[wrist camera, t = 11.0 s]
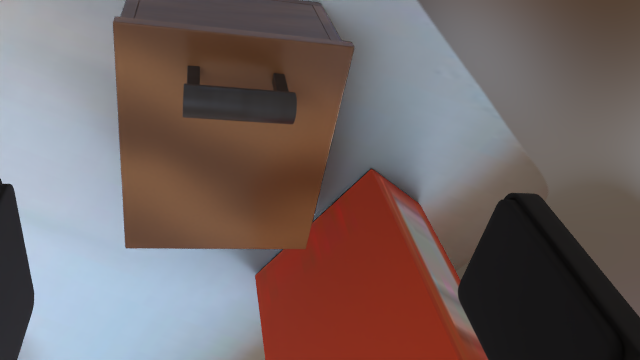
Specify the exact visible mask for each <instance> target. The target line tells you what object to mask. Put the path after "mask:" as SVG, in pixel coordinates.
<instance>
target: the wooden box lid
mask: <svg viewBox="0 0 640 360" xmlns="http://www.w3.org/2000/svg"><path fill="white" fill-rule="evenodd" d="M113 33H114V51H115V69H116V87H117V105H118V123H119V142H120V160H121V178H122V196H123V214H124V232H125V247H126V248H175V249H306V246H307V242H308V238H309V233H310V229H311V225H312V221H313V217H314V213H315V209H316V205H317V200H318V196H319V192H320V188H321V184H322V180H323V176H324V171H325V167H326V163H327V159H328V155H329V151H330V147H331V143H332V138H333V134H334V130H335V126H336V122H337V118H338V114H339V109H340V105H341V101H342V97H343V93H344V89H345V85H346V81H347V76H348V72H349V68H350V64H351V60H352V56H353V52H354V45H353V43H352V42H348V41H339V40H329V39H320V38H311V37H302V36H292V35H283V34H274V33H264V32H255V31H246V30H237V29H227V28H218V27H209V26H200V25H190V24H181V23H172V22H162V21H153V20H144V19H135V18H125V17H115V18H114V21H113Z"/></svg>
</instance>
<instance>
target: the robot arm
mask: <svg viewBox="0 0 640 360" xmlns="http://www.w3.org/2000/svg"><path fill="white" fill-rule="evenodd" d="M458 298H459V301H460V304H461V306H462V308H463V310H464V312H465V314H466V316H467V318H468V320H469V322H470V324H471V326H472V328H473V330H474V332H475V334H476V336H477V338H478V340H479V342H480V344H481V346H482V348H483V350H484V352H485V354H486V356H487V358H488V360H640V317H639V316H638V315H637V314H636V312H635V311H634V310H633V309H632V307H630V305H629V304H628V303H627V301H626V300H625V299H624V298H623V297H622V295H621V294H620V293H619V292H618V290H617V289H616V288H615V287H614V286H613V284H612V283H611V282H610V281H609V279H608V278H607V277H606V276H605V275H604V273H603V272H602V271H601V270H600V268H599V267H598V266H597V265H596V264H595V262H594V261H593V260H592V259H591V257H590V256H589V255H588V254H587V253H586V251H585V250H584V249H583V248H582V247H581V245H580V244H579V243H578V242H577V240H576V239H575V238H574V237H573V235H572V234H571V233H570V232H569V231H568V229H567V228H566V227H565V226H564V224H563V223H562V222H561V221H560V220H559V219H558V217H557V216H556V215H555V213H554V212H553V211H552V210H551V209H550V207H549V206H548V205H547V204H546V202H545V201H544V200H543V199H542V198H541V197H540V196H539V195H537V194H528V193H510V194H508V195H507V196H506V197H505V198H504V200H501V201H499V202H498V204H497V206H496V208H495V210H494V212H493V214H492V216H491V218H490V220H489V223H488V225H487V227H486V229H485V231H484V233H483V235H482V237H481V239H480V241H479V244H478V246H477V248H476V250H475V252H474V254H473V256H472V258H471V260H470V263H469V265H468V267H467V269H466V271H465V273H464V275H463V277H462V279H461V281H460V284H459V286H458ZM33 305H34V289H33V284H32V279H31V274H30V269H29V264H28V259H27V254H26V248H25V243H24V238H23V233H22V228H21V223H20V218H19V213H18V208H17V202H16V197H15V192H14V188H13V186H12V185H11V184H2V181H1V179H0V360H17V358H18V355H19V352H20V349H21V346H22V342H23V339H24V336H25V333H26V330H27V327H28V323H29V320H30V317H31V314H32V310H33Z"/></svg>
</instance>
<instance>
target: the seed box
mask: <svg viewBox="0 0 640 360" xmlns="http://www.w3.org/2000/svg"><path fill="white" fill-rule="evenodd" d="M120 17H125V18H135V19H144V20H153V21H162V22H172V23H181V24H190V25H200V26H209V27H218V28H227V29H237V30H246V31H255V32H264V33H274V34H283V35H292V36H302V37H311V38H320V39H329V40H339V41H342V40H341V39H340V37H339V35H338V33H337V31H336V30H335V28H334V26H333V24H332V22H331V21H330V19H329V17H328V15H327V14H326V12H325V10H324V8H323V7H322V5H321V3H317V2H309V1H301V0H126V2H125V5H124V8H123V10H122V13H121V16H120Z"/></svg>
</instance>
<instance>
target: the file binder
mask: <svg viewBox="0 0 640 360" xmlns="http://www.w3.org/2000/svg"><path fill="white" fill-rule="evenodd" d="M255 279H256V287H257V295H258V303H259V311H260V319H261V327H262V335H263V343H264V351H265V360H488V358H487V356H486V354H485V352H484V350H483V348H482V346H481V344H480V342H479V340H478V338H477V336H476V334H475V332H474V330H473V328H472V326H471V324H470V322H469V320H468V318H467V316H466V314H465V312H464V310H463V308H462V306H461V304H460V301H459V298H458V286H459V284H460V279H459V277H458V275H457V273H456V271H455V269H454V267H453V266H452V264H451V262H450V260H449V258H448V256H447V254H446V252H445V251H444V249H443V247H442V245H441V243H440V241H439V239H438V237H437V236H436V234H435V232H434V230H433V228H432V226H431V224H430V222H429V221H428V219H427V217H426V215H425V213H424V211H423V209H422V207H421V206H420V205H419V203H418V202H416V201H415V200H414V199H412V198H411V197H410V196H408V195H407V194H406V193H404V192H403V191H402V190H400V189H399V188H398V187H396V186H395V185H393V184H392V183H391V182H389V181H388V180H387V179H385V178H384V177H383V176H381V175H380V174H379V173H377V172H376V171H375V170H372V169H371V170H369V171H368V172H367V173H366V174H365V175H364V176H363V177H362V178H361V179H360V180H359V181H357V182H356V183H355V184H354V185H353V186H352V187H351V188H350V189H349V190H348V191H347V192H346V193H344V194H343V195H342V196H341V197H340V198H339V199H338V200H337V201H336V202H335V203H334V204H332V205H331V206H330V207H329V208H328V209H327V210H326V211H325V212H324V213H323V214H322V215H320V216H319V217H318V218H317V219H316V220H315V221H314V222H313V223H312V225H311V229H310V233H309V238H308V242H307V246H306V249H283V250H282V251H281V252H280V253H279V254H278V255H277V256H276V257H275V258H274V259H273V260H271V261H270V262H269V263H268V264H267V265H266V266H265V267H264V268H263V269H262V270H261V271H259V272H258V273H257V274H256V275H255Z"/></svg>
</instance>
